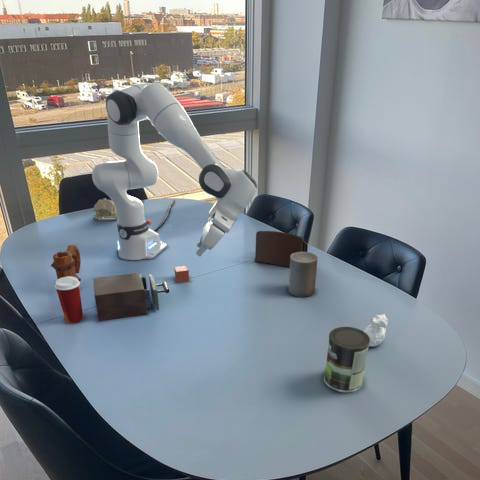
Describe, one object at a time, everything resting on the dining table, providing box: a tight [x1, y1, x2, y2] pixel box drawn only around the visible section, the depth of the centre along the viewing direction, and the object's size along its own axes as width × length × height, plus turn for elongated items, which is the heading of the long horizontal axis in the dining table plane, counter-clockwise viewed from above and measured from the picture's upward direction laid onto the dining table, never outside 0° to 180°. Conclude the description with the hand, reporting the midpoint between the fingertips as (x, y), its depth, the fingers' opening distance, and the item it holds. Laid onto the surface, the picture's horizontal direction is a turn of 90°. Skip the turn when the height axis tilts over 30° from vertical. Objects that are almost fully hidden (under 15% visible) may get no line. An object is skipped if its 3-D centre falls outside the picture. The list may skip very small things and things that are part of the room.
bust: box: [363, 313, 389, 348], centre depth 139 cm, size 12×8×11 cm
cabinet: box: [92, 272, 148, 322], centre depth 157 cm, size 16×14×10 cm
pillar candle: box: [288, 251, 318, 298], centre depth 167 cm, size 10×10×15 cm
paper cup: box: [54, 276, 84, 324], centre depth 150 cm, size 8×8×14 cm
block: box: [174, 265, 190, 284], centre depth 178 cm, size 5×5×5 cm
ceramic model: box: [93, 197, 118, 221], centre depth 241 cm, size 14×11×10 cm
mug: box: [50, 244, 82, 285], centre depth 170 cm, size 15×8×15 cm, turn 168°
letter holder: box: [254, 230, 309, 268], centre depth 192 cm, size 10×20×14 cm, turn 68°
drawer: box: [141, 273, 170, 311], centre depth 159 cm, size 19×12×8 cm, turn 106°
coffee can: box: [323, 326, 370, 394], centre depth 122 cm, size 10×10×14 cm
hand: (198, 250), depth 157 cm, fingers open, 8 cm apart
